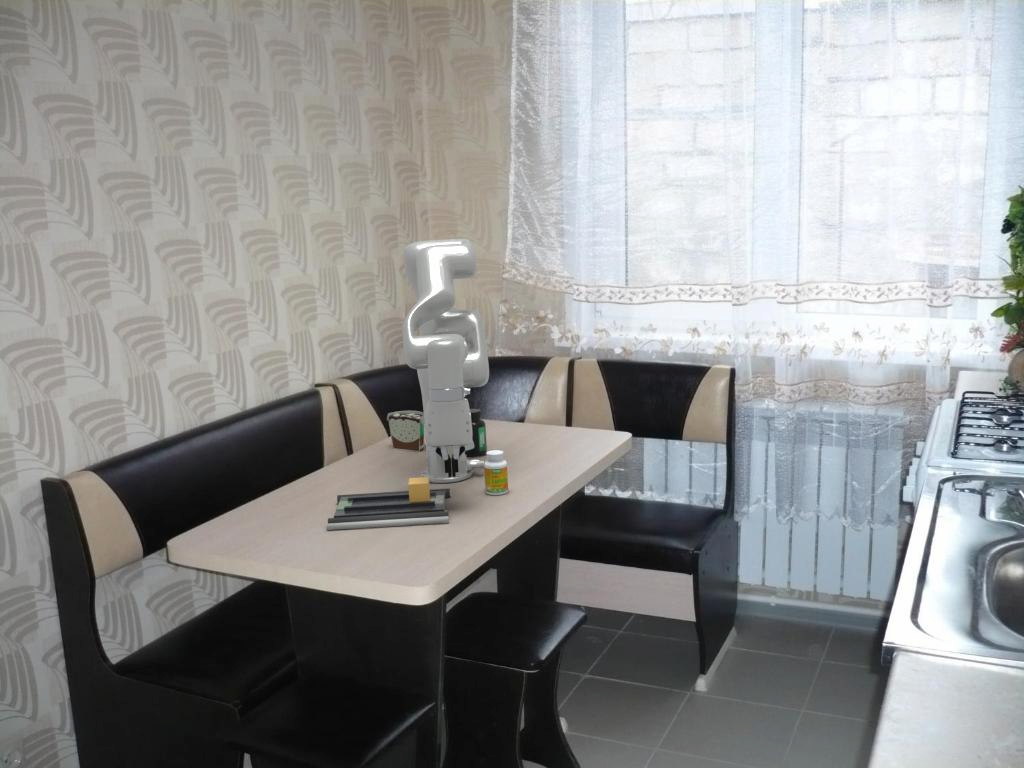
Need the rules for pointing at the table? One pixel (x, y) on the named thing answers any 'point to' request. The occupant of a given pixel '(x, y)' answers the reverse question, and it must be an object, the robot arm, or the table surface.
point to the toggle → (419, 489)
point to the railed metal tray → (388, 505)
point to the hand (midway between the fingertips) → (452, 475)
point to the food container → (407, 430)
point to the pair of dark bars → (388, 516)
